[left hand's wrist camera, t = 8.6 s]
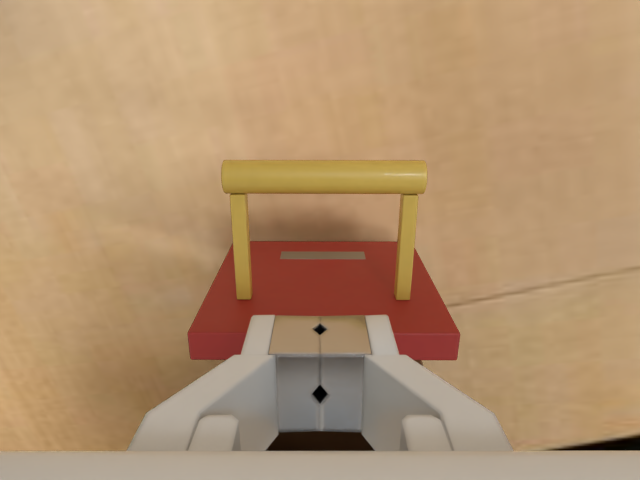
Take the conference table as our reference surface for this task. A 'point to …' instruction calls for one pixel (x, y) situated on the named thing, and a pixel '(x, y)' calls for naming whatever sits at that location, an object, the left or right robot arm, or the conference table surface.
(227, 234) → the conference table surface
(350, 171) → the drawer
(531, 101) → the conference table surface
